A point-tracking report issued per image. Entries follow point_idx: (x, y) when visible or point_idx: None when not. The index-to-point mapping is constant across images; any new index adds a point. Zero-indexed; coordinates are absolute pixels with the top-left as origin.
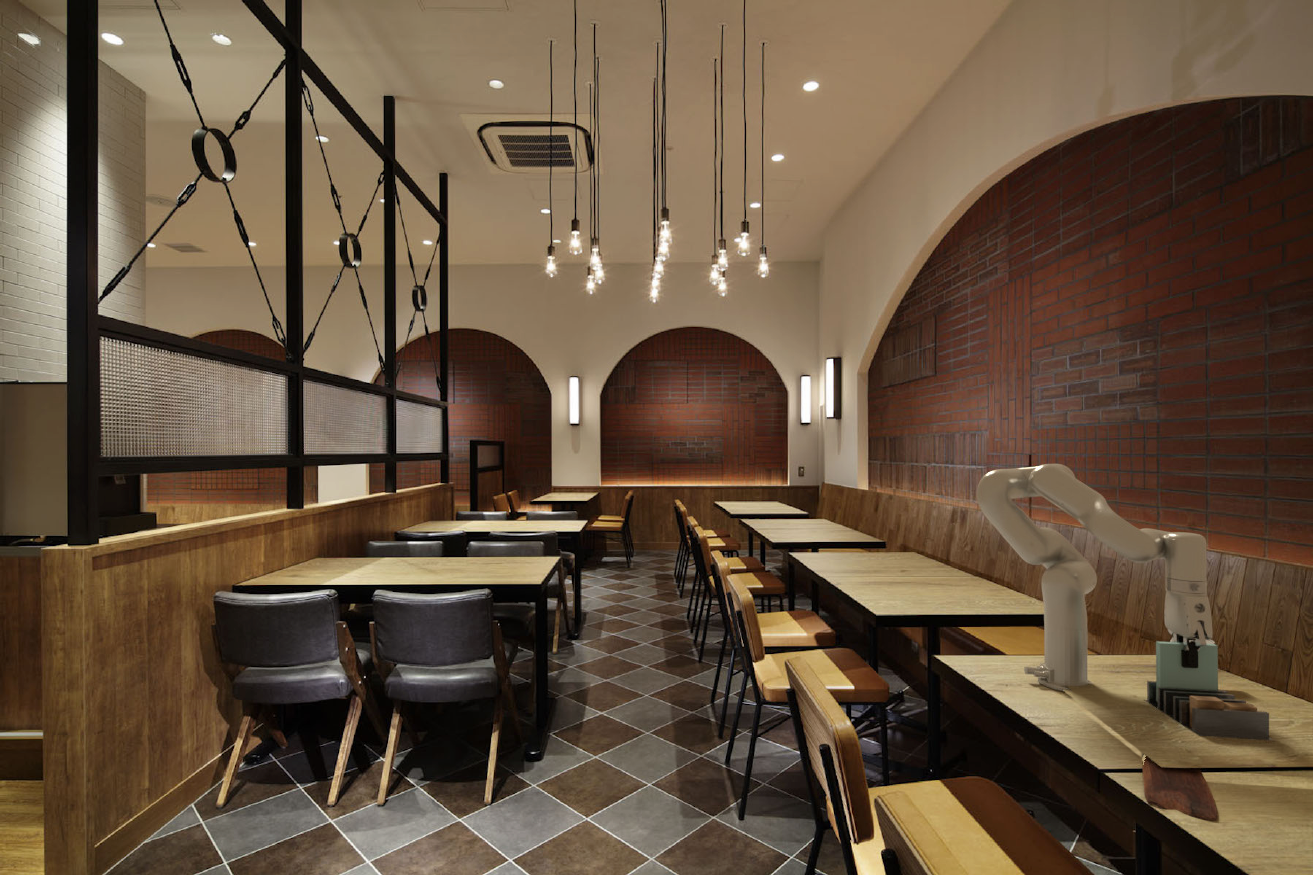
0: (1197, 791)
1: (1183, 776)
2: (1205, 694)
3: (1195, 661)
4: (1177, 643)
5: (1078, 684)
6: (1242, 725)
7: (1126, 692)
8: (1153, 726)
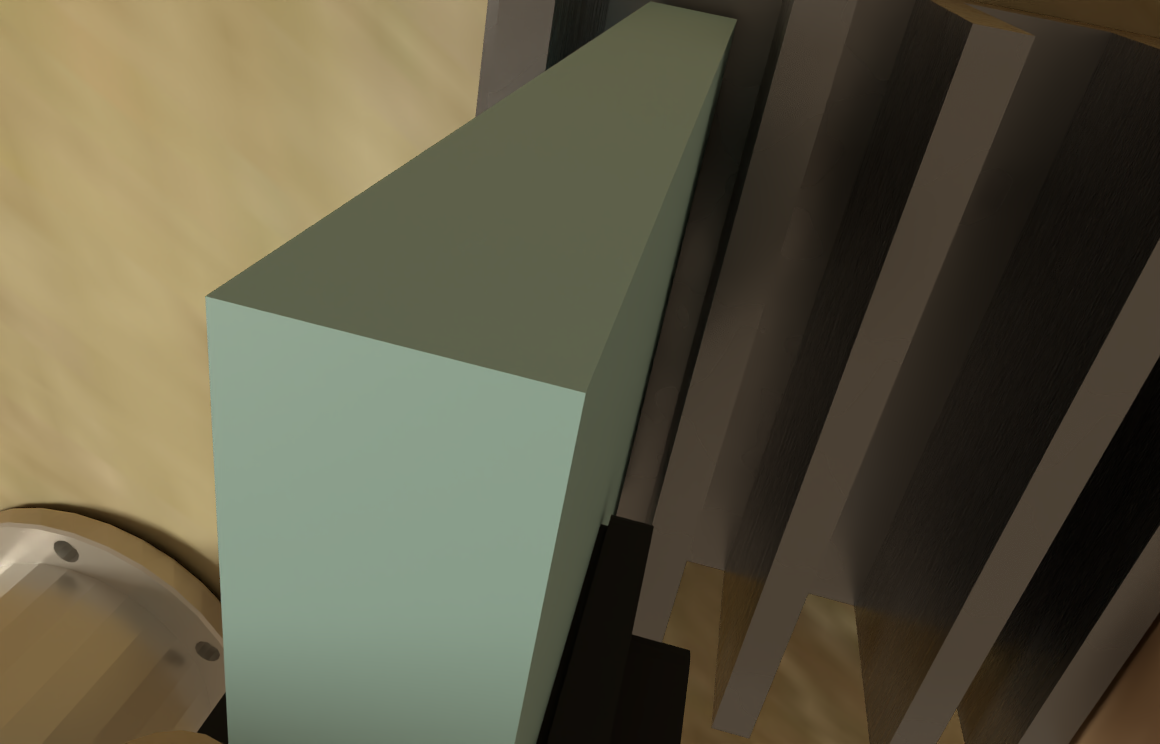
0: None
1: None
2: (879, 411)
3: (681, 702)
4: None
5: (194, 700)
6: None
7: (162, 359)
8: (837, 691)
